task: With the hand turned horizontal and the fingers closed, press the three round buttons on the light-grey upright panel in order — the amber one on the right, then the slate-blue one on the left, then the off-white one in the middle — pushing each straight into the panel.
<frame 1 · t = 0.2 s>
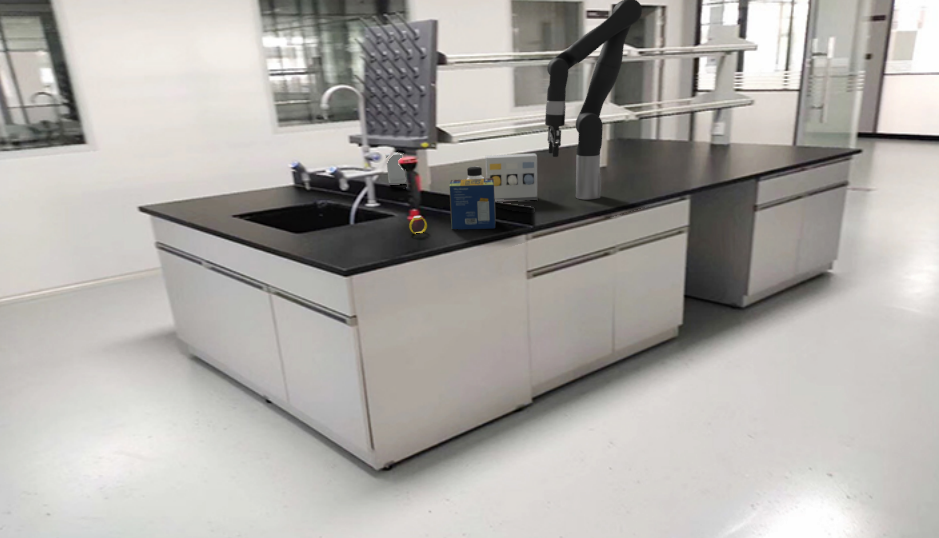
hand: (553, 154, 243), 18 cm above the countertop, tool pointing down, fingers open, 8 cm apart
amber button: (495, 180, 243), point 9 cm above the countertop, slide at 0.0 cm
protein box: (473, 225, 216), on the countertop
white button: (512, 179, 243), point 9 cm above the countertop, slide at 0.0 cm
medicine bottle: (475, 195, 262), on the countertop
panel: (512, 200, 248), on the countertop
grey shouldered block: (397, 185, 290), on the countertop
blue button: (528, 179, 243), point 9 cm above the countertop, slide at 0.0 cm
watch: (418, 233, 210), on the countertop
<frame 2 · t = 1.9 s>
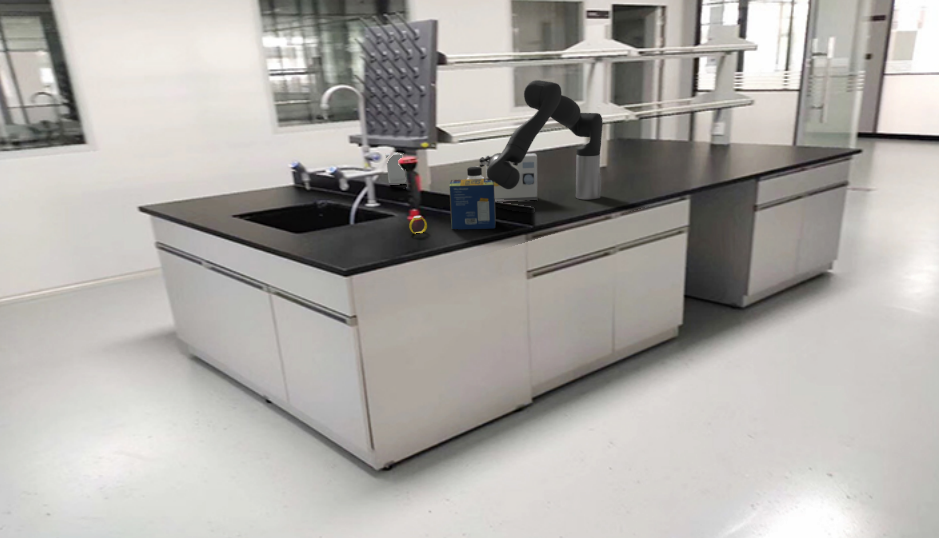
hand: (497, 158, 227), 20 cm above the countertop, tool horizontal, fingers open, 6 cm apart
nothing on the countertop moved.
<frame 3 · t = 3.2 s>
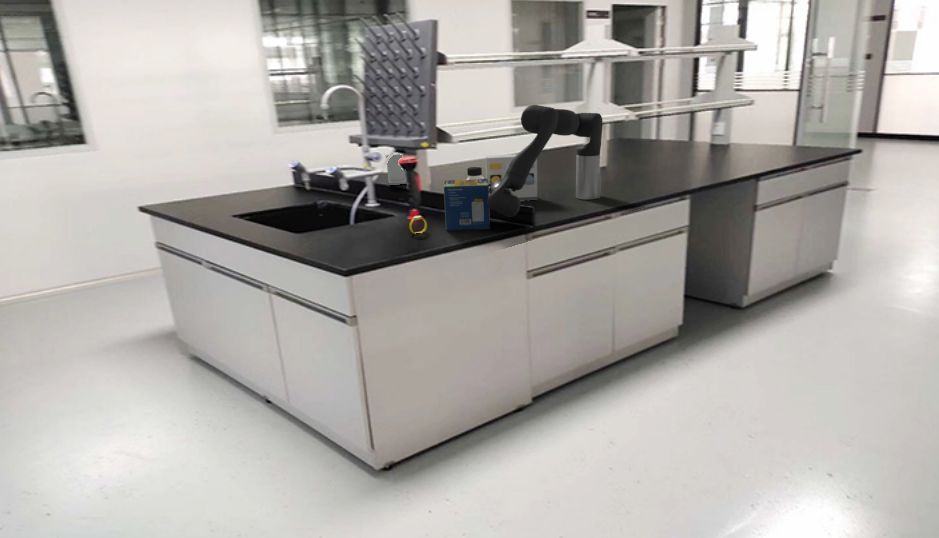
hand: (497, 183, 230), 10 cm above the countertop, tool horizontal, fingers closed
protein box: (468, 226, 216), on the countertop
everything else where it was.
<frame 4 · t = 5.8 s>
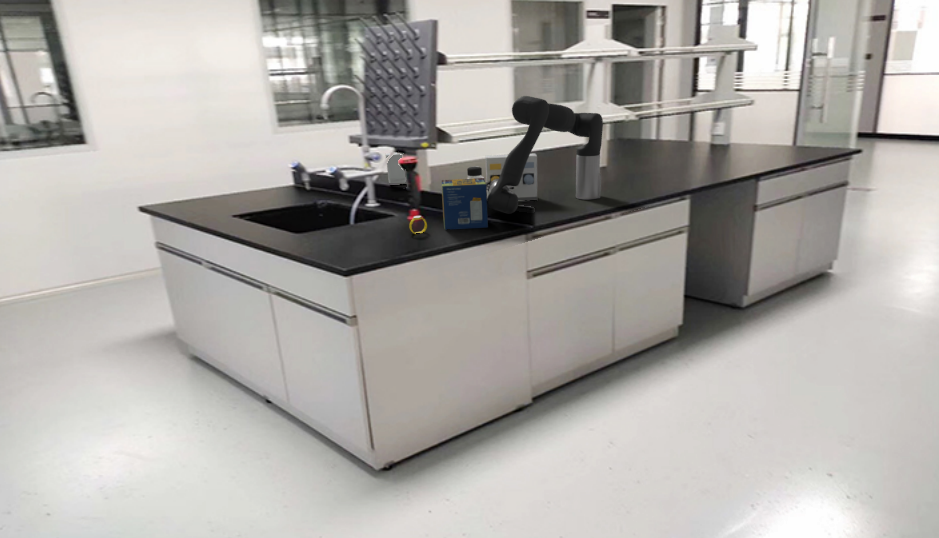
hand: (496, 181, 242), 9 cm above the countertop, tool horizontal, fingers closed
amber button: (495, 180, 244), point 9 cm above the countertop, slide at 0.5 cm, touching gripper
protein box: (465, 225, 217), on the countertop
everything else where it was.
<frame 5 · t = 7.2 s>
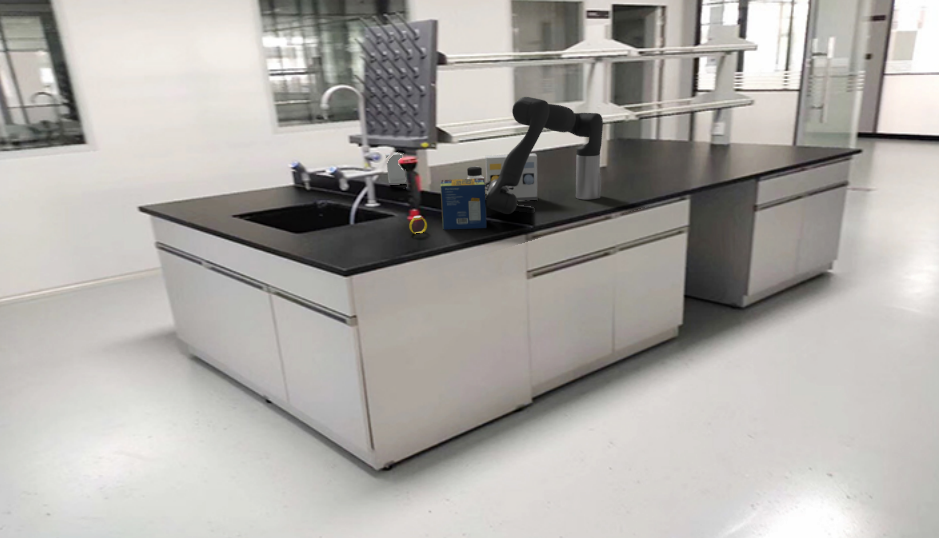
hand: (496, 182, 240), 9 cm above the countertop, tool horizontal, fingers closed
amber button: (495, 179, 245), point 9 cm above the countertop, slide at 2.3 cm
everything else where it was.
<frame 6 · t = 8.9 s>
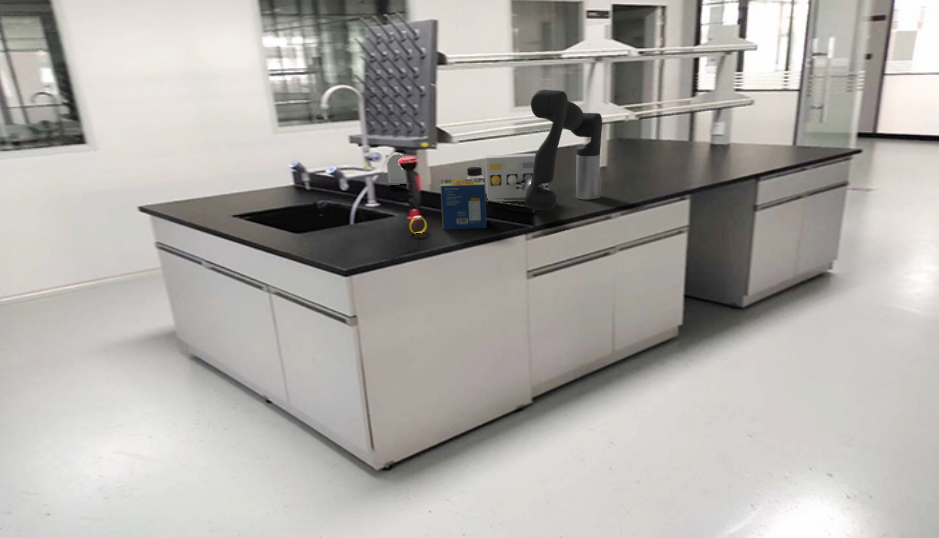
hand: (529, 180, 241), 9 cm above the countertop, tool horizontal, fingers closed
blue button: (528, 179, 244), point 9 cm above the countertop, slide at 0.3 cm, touching gripper
everything else where it was.
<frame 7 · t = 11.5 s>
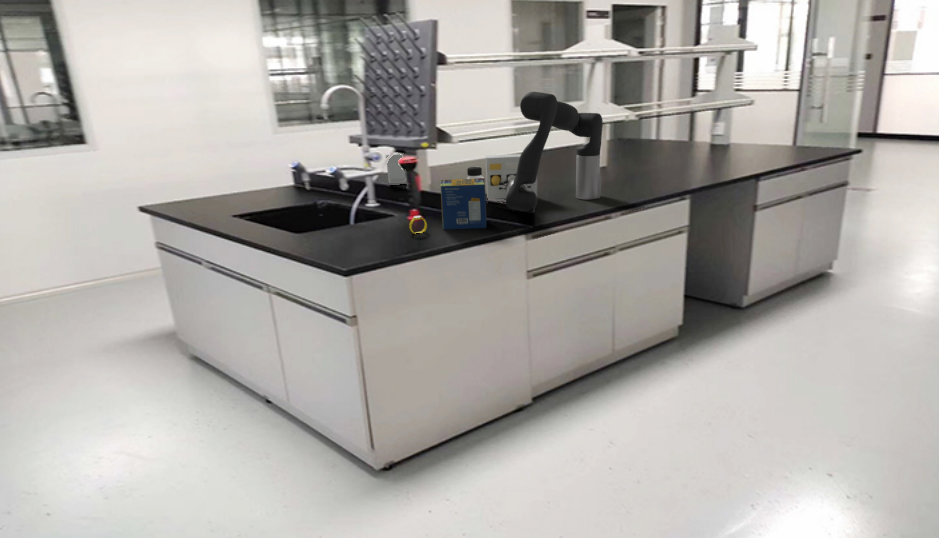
hand: (512, 180, 242), 9 cm above the countertop, tool horizontal, fingers closed
white button: (512, 179, 244), point 9 cm above the countertop, slide at 0.9 cm, touching gripper
blue button: (527, 178, 246), point 9 cm above the countertop, slide at 2.3 cm
everything else where it was.
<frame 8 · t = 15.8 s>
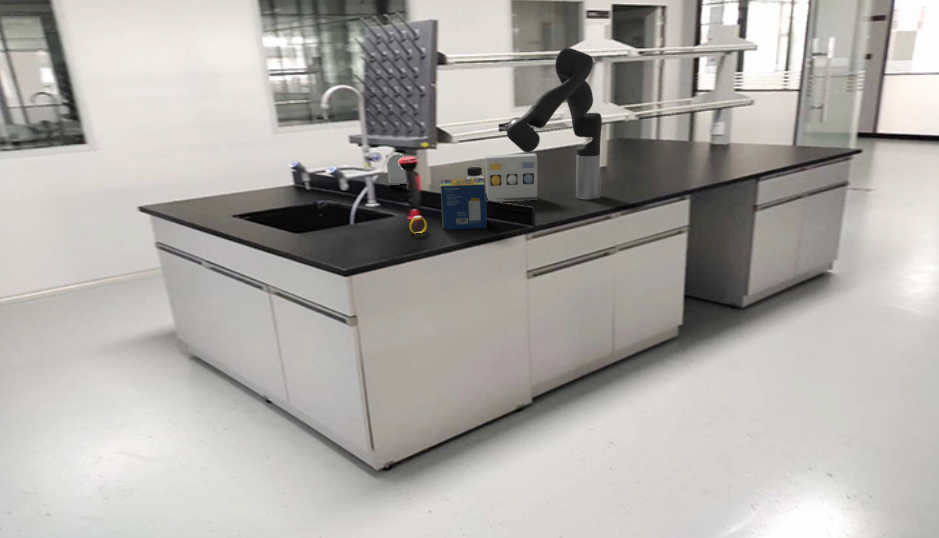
hand: (513, 124, 224), 32 cm above the countertop, tool horizontal, fingers closed
white button: (511, 178, 245), point 9 cm above the countertop, slide at 2.3 cm
everything else where it was.
at the end: amber button slide at 2.3 cm; blue button slide at 2.3 cm; white button slide at 2.3 cm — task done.
